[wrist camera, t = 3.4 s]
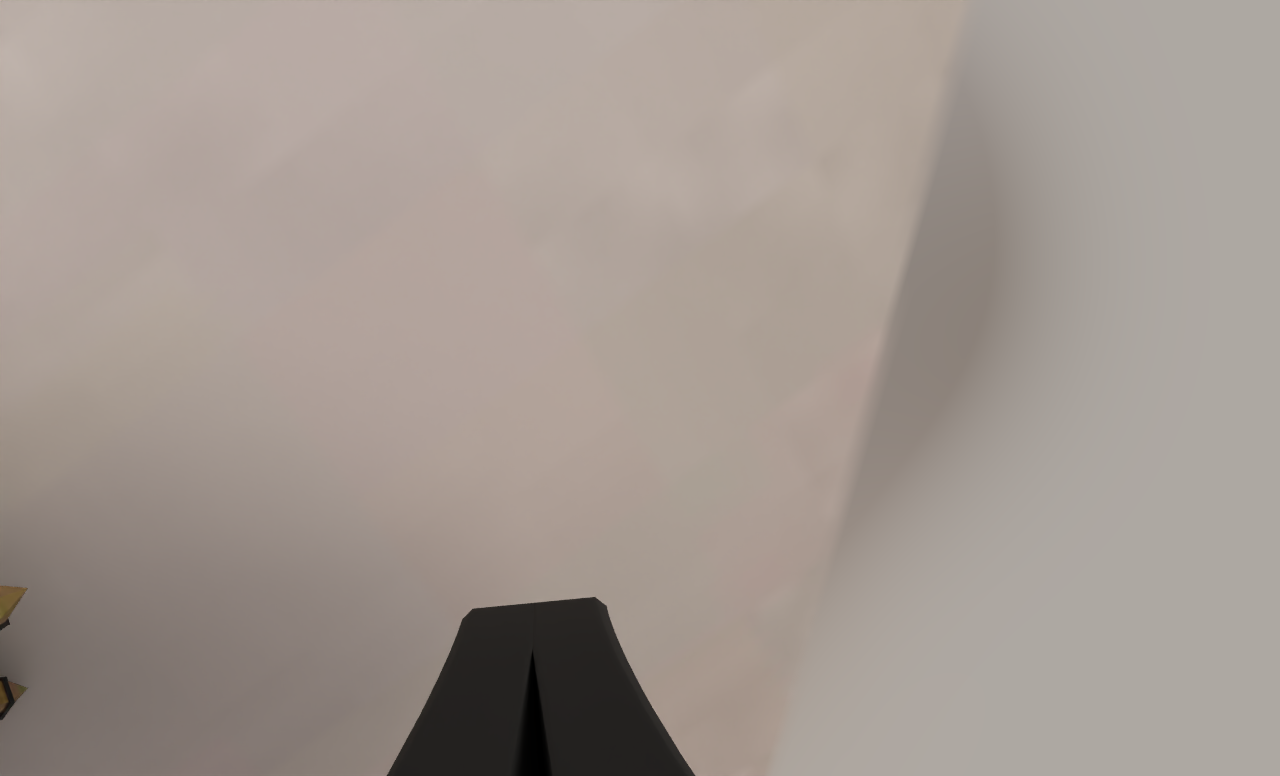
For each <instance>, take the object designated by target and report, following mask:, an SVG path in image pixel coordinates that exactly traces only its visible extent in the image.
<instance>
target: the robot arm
mask: <svg viewBox="0 0 1280 776" xmlns="http://www.w3.org/2000/svg"><path fill="white" fill-rule="evenodd" d="M387 776H695V775H694V773H693V772H692V770H691V769H690V767H689V766H688V764H687V763H686V761H685V760H684V758H683V757H682V755H681V754H680V752H679V750H678V749H677V747H676V745H675V744H674V742H673V740H672V739H671V737H670V736H669V734H668V732H667V731H666V729H665V727H664V726H663V724H662V723H661V721H660V719H659V718H658V716H657V714H656V713H655V711H654V709H653V708H652V706H651V704H650V702H649V701H648V699H647V697H646V695H645V694H644V692H643V690H642V688H641V686H640V684H639V682H638V681H637V679H636V677H635V675H634V673H633V671H632V669H631V667H630V665H629V663H628V661H627V659H626V657H625V655H624V652H623V650H622V648H621V646H620V644H619V641H618V639H617V636H616V634H615V632H614V629H613V626H612V623H611V621H610V618H609V614H608V610H607V606H606V605H605V604H603V603H602V602H601V601H599V600H598V599H597V598H596V597H591V598H580V599H570V600H560V601H549V602H539V603H528V604H518V605H507V606H497V607H486V608H476V609H472V610H471V611H470V612H469V613H468V614H467V615H466V616H465V617H464V618H463V619H462V622H461V625H460V628H459V630H458V633H457V636H456V638H455V641H454V643H453V646H452V648H451V651H450V653H449V655H448V658H447V660H446V662H445V664H444V667H443V669H442V671H441V673H440V675H439V678H438V680H437V682H436V684H435V686H434V688H433V690H432V692H431V694H430V696H429V698H428V700H427V702H426V704H425V706H424V708H423V710H422V712H421V714H420V716H419V718H418V719H417V721H416V723H415V725H414V727H413V729H412V731H411V732H410V734H409V736H408V738H407V740H406V742H405V743H404V745H403V747H402V749H401V751H400V753H399V754H398V756H397V758H396V760H395V762H394V764H393V766H392V767H391V769H390V771H389V773H388V774H387Z"/></svg>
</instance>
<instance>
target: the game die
mask: <svg viewBox="0 0 1280 776" xmlns="http://www.w3.org/2000/svg"><path fill="white" fill-rule="evenodd" d="M27 589H28V588H21V587H9V586H0V630H2V629H3V628H5V627H6V626H8V625H10V622H9V619H8V617H9V616H10V614H11V613H12V611H13V610H14V608H15V607H16V605H17V604H18V602H19V601H20V599H21V598H22V596H23V595H24V593H25V592H26V590H27ZM27 689H28V688H26V687H23V686H20V685H18V684H15V683H12V682H9V681H8V680H7V677H0V720H2V719H3V718H4V717H5V715H6V714H7V713H8V711H9V710H10V708H11V707H12V706H13V704H14V703H15V701H16V700H17V699H18V698H19V697H20V696H21V695H22V694H23V693H24V692H25V691H26V690H27Z"/></svg>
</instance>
